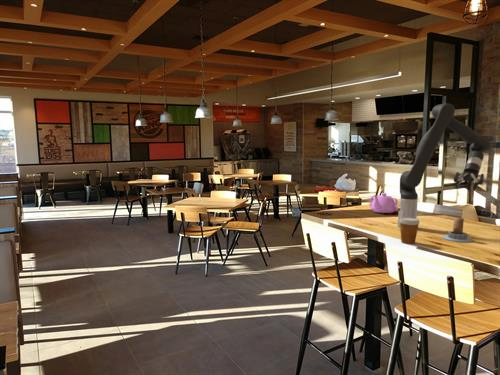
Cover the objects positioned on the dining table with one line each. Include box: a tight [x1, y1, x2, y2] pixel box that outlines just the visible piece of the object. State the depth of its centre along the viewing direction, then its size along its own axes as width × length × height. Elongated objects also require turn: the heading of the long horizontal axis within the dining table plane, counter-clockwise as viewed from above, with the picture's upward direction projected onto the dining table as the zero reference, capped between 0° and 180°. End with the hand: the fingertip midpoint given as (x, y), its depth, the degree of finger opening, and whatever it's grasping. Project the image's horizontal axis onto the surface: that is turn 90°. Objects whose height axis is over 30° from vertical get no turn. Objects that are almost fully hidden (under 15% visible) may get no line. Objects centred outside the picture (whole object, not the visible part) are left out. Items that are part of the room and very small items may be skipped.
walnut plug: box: [452, 217, 465, 235], centre depth 200 cm, size 4×4×10 cm
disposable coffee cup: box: [399, 217, 420, 245], centre depth 193 cm, size 10×10×12 cm
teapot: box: [369, 192, 399, 214], centre depth 278 cm, size 22×22×14 cm
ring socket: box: [441, 230, 474, 244], centre depth 201 cm, size 14×14×3 cm
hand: (465, 188), depth 212 cm, fingers open, 8 cm apart
